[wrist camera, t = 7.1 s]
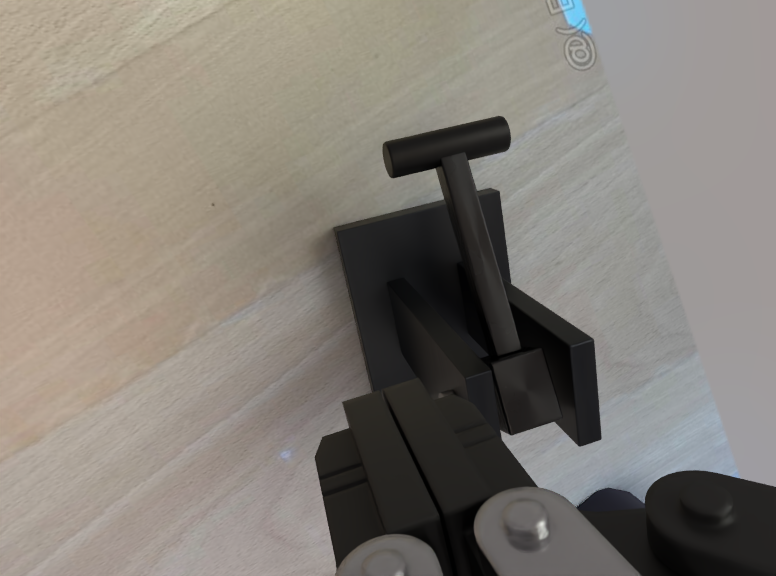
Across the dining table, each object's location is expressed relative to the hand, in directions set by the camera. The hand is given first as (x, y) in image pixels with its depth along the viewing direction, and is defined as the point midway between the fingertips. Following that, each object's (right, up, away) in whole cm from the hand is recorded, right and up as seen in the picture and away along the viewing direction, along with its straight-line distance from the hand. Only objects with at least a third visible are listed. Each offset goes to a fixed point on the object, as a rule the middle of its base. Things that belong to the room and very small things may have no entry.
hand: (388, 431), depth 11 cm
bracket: (+2, +2, +22) cm, 22 cm away
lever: (+4, +3, +13) cm, 14 cm away
